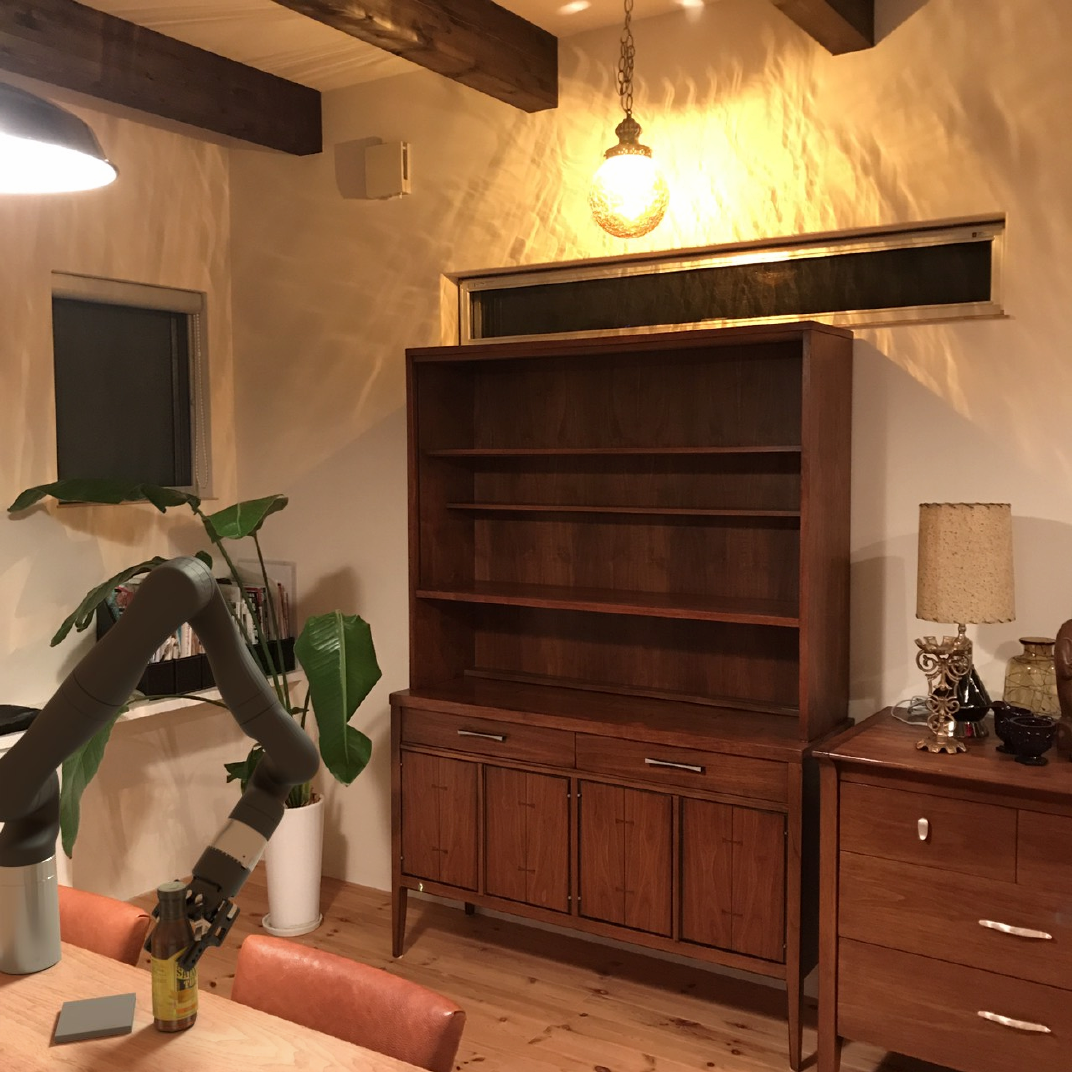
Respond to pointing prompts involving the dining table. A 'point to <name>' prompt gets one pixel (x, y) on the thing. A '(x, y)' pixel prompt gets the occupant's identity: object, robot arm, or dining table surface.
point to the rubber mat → (96, 1017)
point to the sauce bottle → (172, 962)
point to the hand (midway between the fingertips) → (165, 960)
